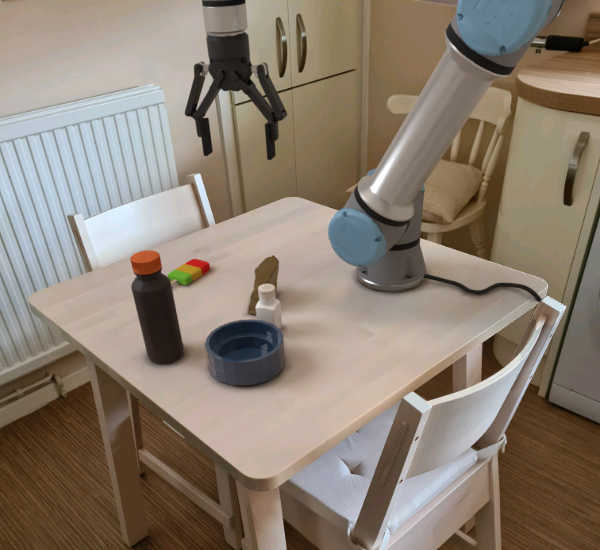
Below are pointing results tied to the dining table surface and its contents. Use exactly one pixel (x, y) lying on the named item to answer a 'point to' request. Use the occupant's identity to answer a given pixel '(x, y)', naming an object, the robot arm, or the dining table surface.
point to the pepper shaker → (268, 305)
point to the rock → (264, 279)
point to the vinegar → (156, 308)
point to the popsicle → (189, 272)
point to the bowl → (245, 352)
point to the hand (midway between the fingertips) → (239, 156)
